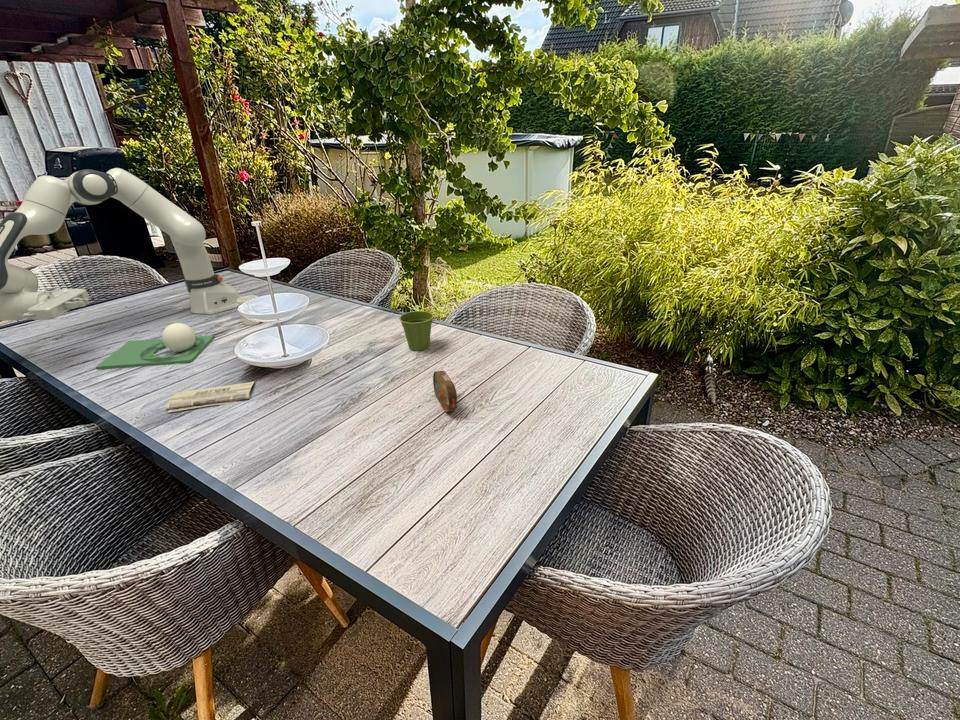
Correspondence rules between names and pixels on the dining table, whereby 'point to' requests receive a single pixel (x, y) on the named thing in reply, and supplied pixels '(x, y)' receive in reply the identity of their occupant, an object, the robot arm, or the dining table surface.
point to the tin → (445, 391)
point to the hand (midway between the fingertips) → (86, 302)
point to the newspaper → (209, 396)
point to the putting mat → (151, 354)
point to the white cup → (243, 300)
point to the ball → (178, 337)
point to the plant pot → (417, 328)
